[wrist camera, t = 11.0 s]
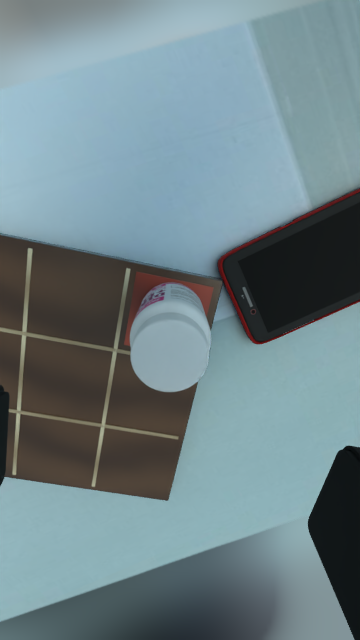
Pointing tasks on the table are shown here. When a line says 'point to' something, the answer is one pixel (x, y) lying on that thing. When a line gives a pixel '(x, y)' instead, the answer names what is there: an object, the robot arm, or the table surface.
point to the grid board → (86, 370)
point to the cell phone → (296, 271)
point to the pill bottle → (170, 338)
